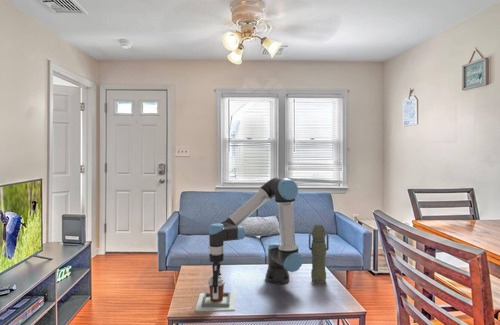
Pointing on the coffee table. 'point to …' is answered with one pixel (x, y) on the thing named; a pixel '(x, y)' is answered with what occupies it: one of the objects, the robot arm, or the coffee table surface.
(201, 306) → the square seat
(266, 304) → the coffee table surface
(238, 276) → the coffee table surface
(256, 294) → the coffee table surface
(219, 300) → the coffee cup
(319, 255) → the thermos
